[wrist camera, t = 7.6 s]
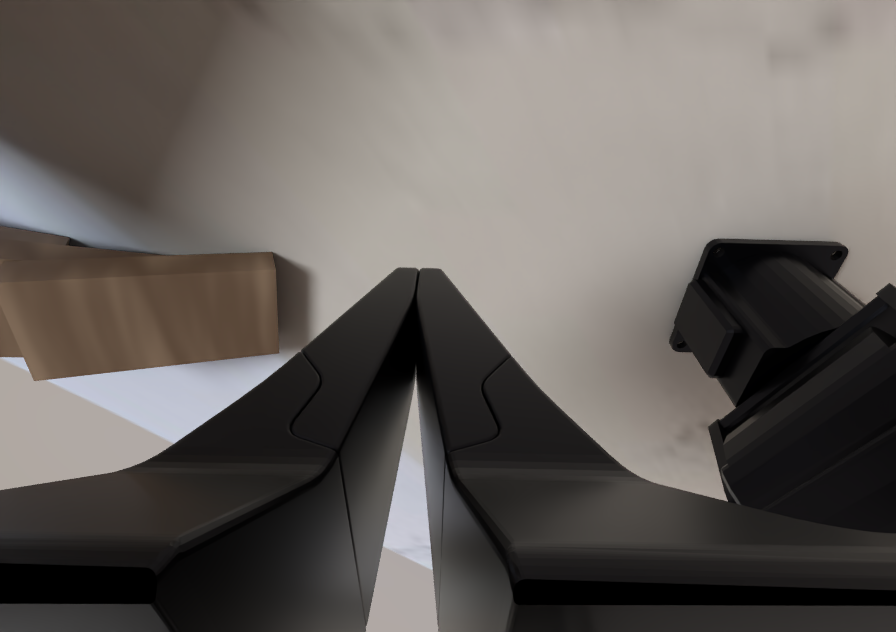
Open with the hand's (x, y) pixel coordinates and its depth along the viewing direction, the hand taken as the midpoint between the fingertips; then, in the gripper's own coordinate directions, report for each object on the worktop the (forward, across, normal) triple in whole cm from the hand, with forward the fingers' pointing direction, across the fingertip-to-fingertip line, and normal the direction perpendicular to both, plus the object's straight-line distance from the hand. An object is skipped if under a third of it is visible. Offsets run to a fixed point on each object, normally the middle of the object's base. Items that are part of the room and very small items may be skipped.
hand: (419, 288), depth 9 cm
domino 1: (+12, +8, +9) cm, 16 cm away
